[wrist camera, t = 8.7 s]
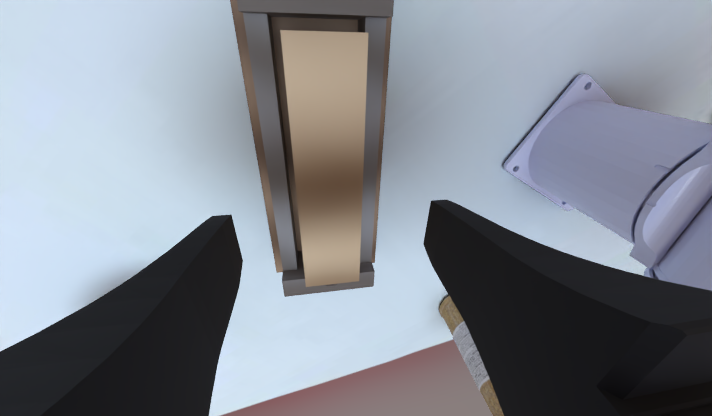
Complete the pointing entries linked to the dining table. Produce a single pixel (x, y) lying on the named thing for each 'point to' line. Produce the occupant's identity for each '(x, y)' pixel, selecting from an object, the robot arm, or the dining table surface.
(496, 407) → the sprinkles bottle
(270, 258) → the dining table surface
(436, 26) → the dining table surface
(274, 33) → the hinge base
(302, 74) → the door panel
